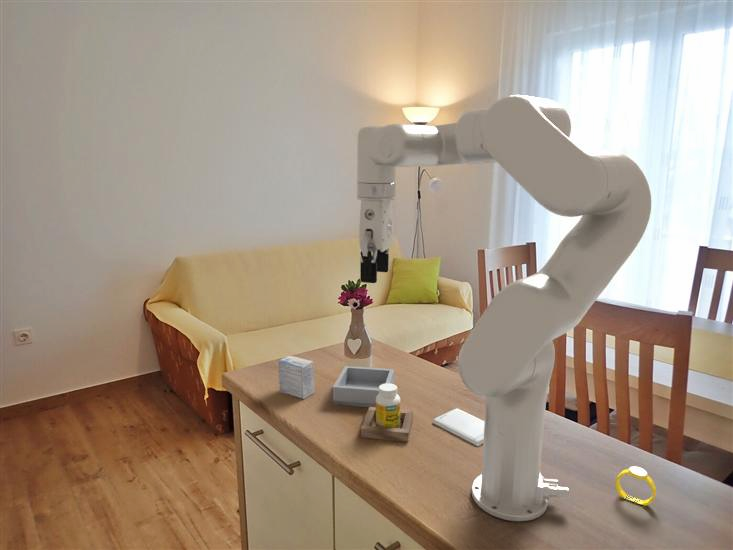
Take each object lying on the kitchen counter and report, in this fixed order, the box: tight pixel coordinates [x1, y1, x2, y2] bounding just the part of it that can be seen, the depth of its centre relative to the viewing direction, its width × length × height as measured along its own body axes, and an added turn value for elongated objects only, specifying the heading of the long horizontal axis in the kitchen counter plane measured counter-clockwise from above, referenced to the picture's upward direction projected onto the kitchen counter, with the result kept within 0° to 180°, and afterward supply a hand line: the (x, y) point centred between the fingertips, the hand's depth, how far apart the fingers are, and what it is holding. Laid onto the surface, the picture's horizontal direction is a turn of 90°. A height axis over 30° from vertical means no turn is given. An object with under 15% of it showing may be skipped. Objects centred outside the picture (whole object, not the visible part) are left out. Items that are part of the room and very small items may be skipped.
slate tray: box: [332, 365, 395, 408], centre depth 127 cm, size 13×13×4 cm
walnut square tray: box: [360, 407, 414, 442], centre depth 112 cm, size 10×10×2 cm
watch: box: [615, 465, 657, 507], centre depth 87 cm, size 6×3×6 cm, turn 51°
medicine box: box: [278, 355, 315, 400], centre depth 128 cm, size 8×4×9 cm, turn 58°
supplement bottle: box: [375, 383, 401, 429], centre depth 111 cm, size 5×5×10 cm
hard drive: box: [432, 408, 485, 447], centre depth 112 cm, size 2×8×12 cm
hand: (374, 276), depth 104 cm, fingers open, 9 cm apart
